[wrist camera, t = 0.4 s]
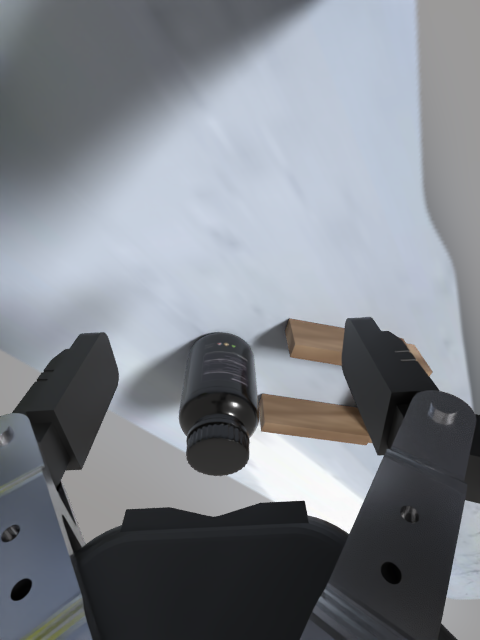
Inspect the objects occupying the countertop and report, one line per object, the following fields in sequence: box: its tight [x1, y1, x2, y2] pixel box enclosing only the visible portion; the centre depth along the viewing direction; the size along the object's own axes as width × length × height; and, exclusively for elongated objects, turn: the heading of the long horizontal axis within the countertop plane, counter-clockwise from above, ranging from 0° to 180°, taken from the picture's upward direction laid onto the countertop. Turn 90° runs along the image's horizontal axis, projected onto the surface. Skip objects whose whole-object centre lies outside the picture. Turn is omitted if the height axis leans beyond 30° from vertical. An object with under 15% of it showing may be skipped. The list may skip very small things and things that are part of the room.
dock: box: [259, 319, 432, 445], centre depth 36 cm, size 12×14×4 cm
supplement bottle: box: [179, 333, 259, 476], centre depth 31 cm, size 7×7×12 cm
